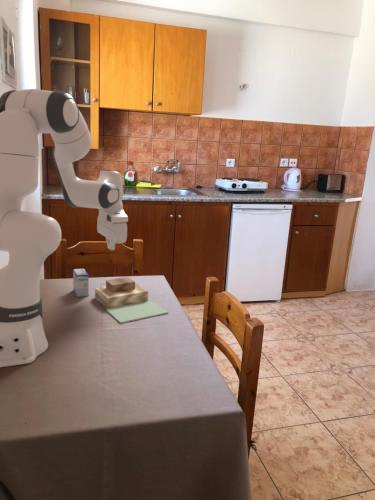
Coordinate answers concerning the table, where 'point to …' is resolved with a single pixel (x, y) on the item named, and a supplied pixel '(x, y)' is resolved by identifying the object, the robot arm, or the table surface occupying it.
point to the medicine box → (80, 282)
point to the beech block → (121, 296)
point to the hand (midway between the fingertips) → (111, 249)
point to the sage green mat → (136, 311)
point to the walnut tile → (120, 284)
